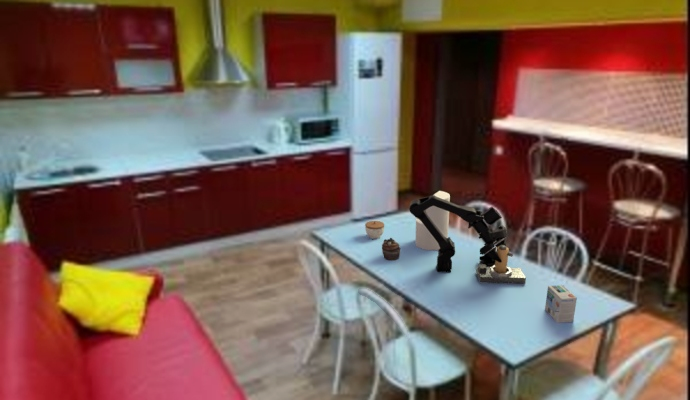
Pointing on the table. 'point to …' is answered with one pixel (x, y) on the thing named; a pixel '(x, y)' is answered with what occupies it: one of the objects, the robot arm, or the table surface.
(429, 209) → the cylinder
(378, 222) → the lidded jar
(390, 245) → the cupcake
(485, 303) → the table surface
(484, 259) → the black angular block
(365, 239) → the table surface
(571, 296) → the light bulb box
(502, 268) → the tan bottle
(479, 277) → the motor base
